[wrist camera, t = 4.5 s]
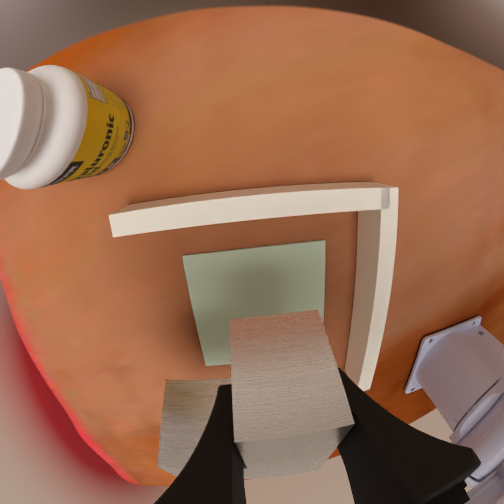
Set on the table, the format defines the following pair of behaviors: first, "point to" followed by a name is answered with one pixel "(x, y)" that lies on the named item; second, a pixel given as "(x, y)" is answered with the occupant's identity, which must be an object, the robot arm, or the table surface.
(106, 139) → the supplement bottle
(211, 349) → the mat
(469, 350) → the robot arm
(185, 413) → the bracket
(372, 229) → the arena
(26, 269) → the table surface
